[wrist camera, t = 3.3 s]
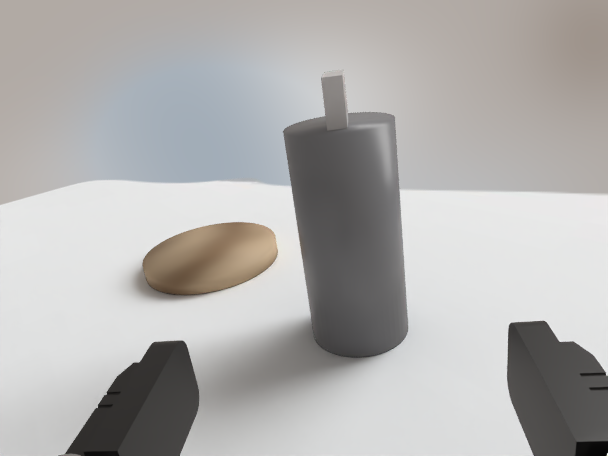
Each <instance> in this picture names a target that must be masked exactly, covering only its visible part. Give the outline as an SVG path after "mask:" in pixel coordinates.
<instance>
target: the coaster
mask: <svg viewBox="0 0 608 456" xmlns="http://www.w3.org/2000/svg"><path fill="white" fill-rule="evenodd" d="M277 253H278V250H277V244H276V238H275V234H274V232H273V231H272V230H270V229H269V228H267V227H265V226H262V225H259V224H254V223H244V222H233V223H221V224H214V225H209V226H204V227H200V228H196V229H193V230H189V231H186V232H183V233H181V234H178V235H176V236H173V237H171V238H169V239H167V240H165V241H163V242H161V243H160V244H158V245H157V246H155V247H154V248H153V249H152V250H151V251H149V252H148V254H147V255H146V256H145V258H144V260H143V269H144V273H145V276H146V280H147V282H148V284H149V285H150V286H151V287H152V288H154V289H156V290H158V291H161V292H164V293H169V294H179V295H189V294H201V293H208V292H213V291H218V290H222V289H225V288H229V287H232V286H235V285H238V284H240V283H243V282H245V281H247V280H249V279H251V278H253V277H255V276H257V275H259V274H260V273H262V272H263V271H264V270H266V269H267V268H268V267H269V266H270V265H271V264H272V263H273V262H274V261H275V259H276V257H277Z"/></svg>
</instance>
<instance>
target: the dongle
mask: <svg viewBox="0 0 608 456" xmlns="http://www.w3.org/2000/svg"><path fill="white" fill-rule="evenodd" d="M321 81H322V90H323V98H324V107H325V115H326V116H325V117H319V118H314V119H310V120H306V121H302V122H299V123H296V124H293V125H291V126H289V127H287V128H285V129H284V131H283V133H284V140H285V146H286V153H287V160H288V166H289V172H290V180H291V186H292V193H293V200H294V206H295V213H296V220H297V226H298V233H299V240H300V246H301V253H302V259H303V266H304V273H305V279H306V286H307V293H308V299H309V306H310V313H311V319H312V326H313V333H314V338H315V340H316V341H317V343H318V344H319V345H320V346H321V347H322V348H324V349H325V350H327V351H329V352H331V353H334V354H337V355H340V356H346V357H368V356H374V355H378V354H381V353H384V352H387V351H389V350H391V349H393V348H394V347H396V346H397V345H398V344H400V343H401V342H402V341H403V340H404V338H405V337H406V335H407V332H408V317H407V302H406V286H405V271H404V255H403V239H402V224H401V208H400V192H399V177H398V162H397V145H396V130H395V117H394V116H393V115H391V114H387V113H377V112H362V113H361V112H360V113H348V109H347V99H346V89H345V79H344V70H337V71H329V72H324V74H323V76H322V78H321Z"/></svg>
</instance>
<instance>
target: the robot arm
mask: <svg viewBox="0 0 608 456" xmlns="http://www.w3.org/2000/svg"><path fill="white" fill-rule="evenodd" d="M507 381H508V389H509V394H510V398H511V401H512V404H513V407H514V409H515V411H516V414H517V416H518V419H519V421H520V423H521V426H522V428H523V431H524V433H525V436H526V438H527V440H528V443H529V445H530V448H531V450H532V452H533V455H534V456H608V376H606V372H605V371H604V369H603V368H602V367H601V365H600V364H599V362H598V361H597V360H596V358H595V357H594V356H593V355H592V354H591V353H589V352H588V351H586V350H585V349H583V348H582V347H580V346H579V345H578V344H576V343H575V342H559V341H558V339H557V338H556V336H555V334H554V333H553V331H552V330H551V328H550V327H549V325H548V324H547V322H545V321H532V322H515V323H510V325H509V330H508V364H507ZM198 406H199V389H198V385H197V381H196V377H195V374H194V370H193V366H192V363H191V359H190V355H189V352H188V348H187V345H186V343H185V342H184V341H164V342H154V343H152V344H151V346H150V347H149V349H148V350H147V352H146V353H145V355H144V357H143V358H142V360H141V361H140V363H133V364H132V365H131V366H129V367H128V368H127V369H126V370H125V371H123V372H122V373H121V374H120V375H119V376H117V378H116V379H115V381H114V382H113V384H112V385H111V387H110V388H109V389H108V391H107V395H104V397H103V398H102V400H101V401H100V403H99V404H98V408H96V409H95V410H94V412H93V413H92V415H91V416H90V418H89V419H88V421H87V422H86V424H85V425H84V427H83V428H82V430H81V431H80V433H79V434H78V435H77V437H76V438H75V440H74V441H73V443H72V444H71V446H70V447H69V449H68V450H67V452H66V453H65V454H64V455H59V456H180V453H181V451H182V448H183V446H184V444H185V441H186V439H187V436H188V434H189V431H190V429H191V426H192V424H193V421H194V419H195V416H196V414H197V411H198Z"/></svg>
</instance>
